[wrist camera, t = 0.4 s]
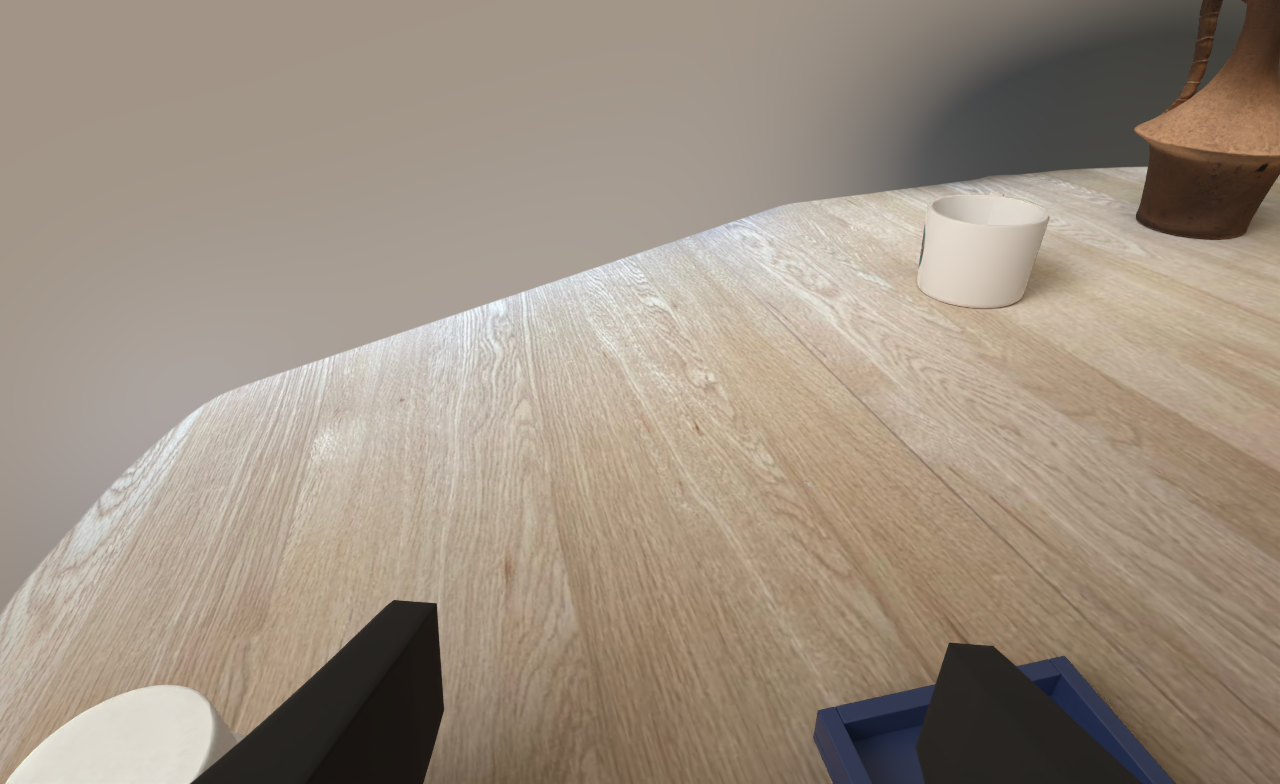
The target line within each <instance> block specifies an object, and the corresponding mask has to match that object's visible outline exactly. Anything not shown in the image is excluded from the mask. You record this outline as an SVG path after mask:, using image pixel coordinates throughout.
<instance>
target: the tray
mask: <svg viewBox="0 0 1280 784" xmlns="http://www.w3.org/2000/svg"><path fill="white" fill-rule="evenodd" d="M1016 667H1017V668H1018V669H1019V670H1021V671H1022V672H1023V673H1024V674H1025V675H1026V676H1027V677H1028V678H1029V679H1030V680H1031V681H1032V682H1034V683H1035V684H1036V685H1037V686H1038V687H1039V688H1040V689H1041V690H1042V691H1043V692H1044V693H1045V694H1046V695H1047V696H1049V697H1050V698H1051V699H1052V700H1053V701H1054V702H1055V703H1056V704H1057V705H1058V706H1059V707H1060V708H1061V709H1062V710H1064V711H1065V712H1066V713H1067V714H1068V715H1069V716H1070V717H1071V718H1072V719H1073V720H1074V721H1075V722H1076V723H1077V724H1079V725H1080V726H1081V727H1082V728H1083V729H1084V730H1085V731H1086V732H1087V733H1088V734H1089V735H1090V736H1091V737H1093V738H1094V739H1095V740H1096V741H1097V742H1098V743H1099V744H1100V745H1101V746H1102V747H1103V748H1104V749H1106V750H1107V751H1108V752H1109V753H1110V754H1111V755H1112V756H1113V757H1114V758H1115V759H1116V760H1118V761H1119V762H1120V763H1121V764H1122V765H1123V766H1124V767H1125V768H1126V769H1127V770H1129V771H1130V772H1131V773H1132V774H1133V775H1134V776H1135V777H1136V778H1137V779H1138V780H1140V781H1141V782H1142V783H1143V784H1175V783H1174V781H1173V780H1172V779H1171V778H1170V777H1169V776H1168V774H1167V773H1166V772H1165V771H1164V770H1163V769H1162V768H1161V766H1160V765H1159V764H1158V763H1157V762H1156V761H1155V759H1154V758H1153V757H1152V756H1151V755H1150V754H1149V753H1148V751H1147V750H1146V749H1145V748H1144V747H1143V746H1142V744H1141V743H1140V742H1139V741H1138V740H1137V739H1136V738H1135V736H1134V735H1133V734H1132V733H1131V732H1130V731H1129V729H1128V728H1127V727H1126V726H1125V725H1124V724H1123V723H1122V721H1121V720H1120V719H1119V718H1118V717H1117V716H1116V714H1115V713H1114V712H1113V711H1112V710H1111V709H1110V708H1109V706H1108V705H1107V704H1106V703H1105V702H1104V701H1103V699H1102V698H1101V697H1100V696H1099V695H1098V694H1097V693H1096V691H1095V690H1094V689H1093V688H1092V687H1091V686H1090V684H1089V683H1088V682H1087V681H1086V680H1085V679H1084V678H1083V676H1082V675H1081V674H1080V673H1079V672H1078V671H1077V669H1076V668H1075V667H1074V666H1073V665H1072V664H1071V663H1070V661H1069V660H1068V659H1067V658H1066V657H1065V656H1061V657H1056V658H1052V659H1049V660H1043V661H1038V662H1034V663H1029V664H1025V665H1020V666H1016ZM935 685H936V684H935ZM935 685H930V686H926V687H921V688H917V689H912V690H908V691H903V692H899V693H894V694H890V695H885V696H881V697H876V698H872V699H867V700H863V701H858V702H854V703H849V704H845V705H840V706H837V707H836V708H835V707H831V708H826V709H822V710H818V713H817V719H816V725H815V732H814V736H813V738H814V740H815V743H816V745H817V747H818V749H819V752H820V754H821V756H822V759H823V761H824V763H825V765H826V768H827V770H828V772H829V775H830V777H831V779H832V781H833V784H925V783H924V779H923V775H922V771H921V767H920V763H919V759H918V755H917V751H916V744H917V741H918V738H919V734H920V731H921V728H922V725H923V722H924V719H925V716H926V713H927V710H928V707H929V704H930V701H931V697H932V694H933V691H934V688H935Z"/></svg>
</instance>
